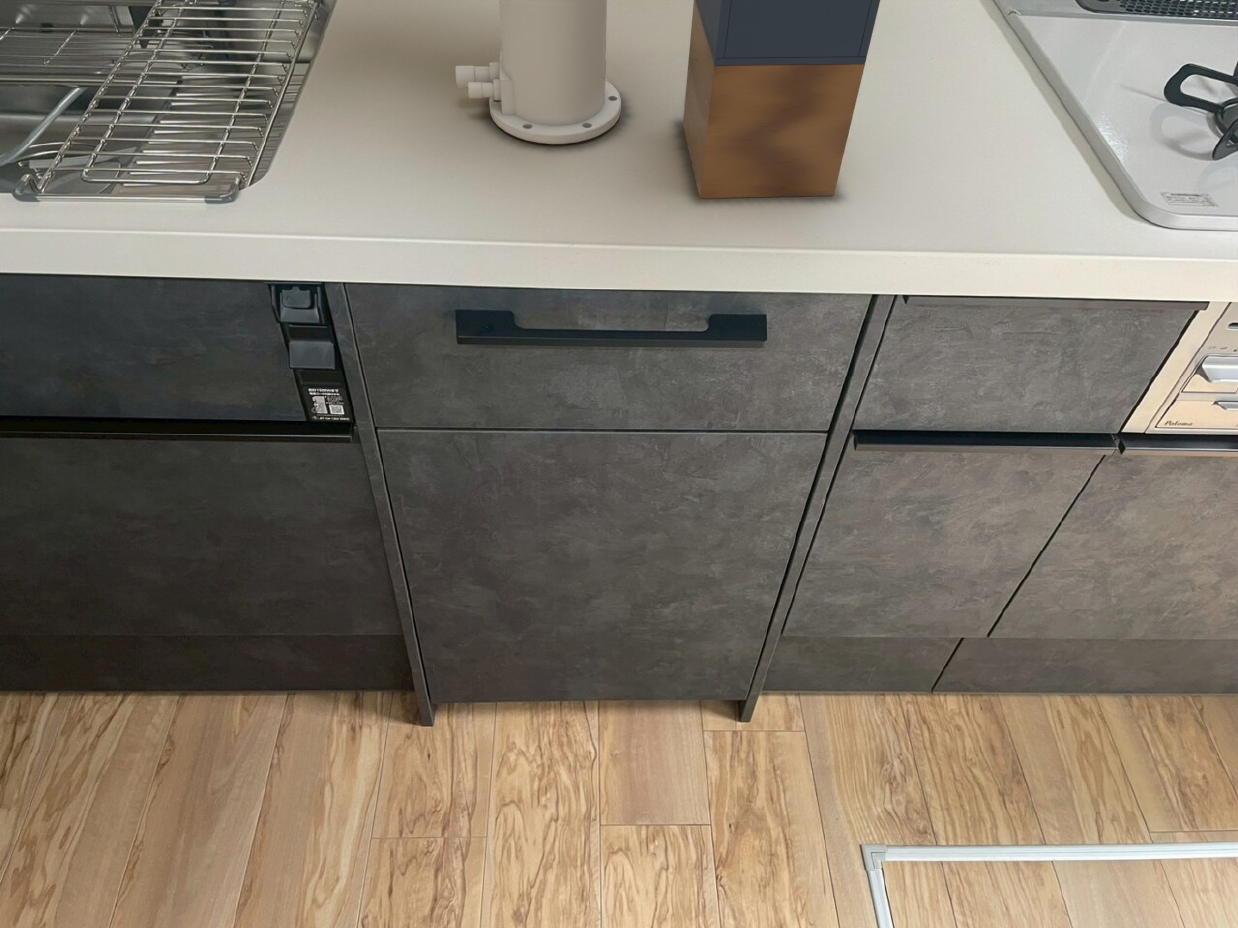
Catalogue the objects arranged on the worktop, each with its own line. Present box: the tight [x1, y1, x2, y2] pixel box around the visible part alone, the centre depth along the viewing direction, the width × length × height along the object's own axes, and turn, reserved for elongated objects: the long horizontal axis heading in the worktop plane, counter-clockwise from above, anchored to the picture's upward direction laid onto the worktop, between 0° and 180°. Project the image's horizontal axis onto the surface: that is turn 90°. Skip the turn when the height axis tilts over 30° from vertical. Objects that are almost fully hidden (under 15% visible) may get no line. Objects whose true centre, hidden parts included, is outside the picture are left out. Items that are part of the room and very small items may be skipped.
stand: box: [682, 0, 866, 199], centre depth 82 cm, size 12×12×12 cm
